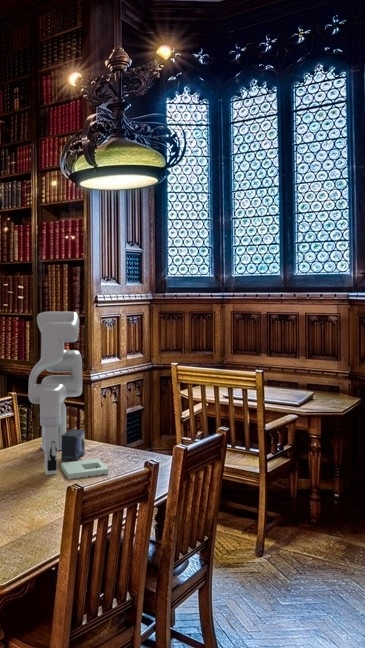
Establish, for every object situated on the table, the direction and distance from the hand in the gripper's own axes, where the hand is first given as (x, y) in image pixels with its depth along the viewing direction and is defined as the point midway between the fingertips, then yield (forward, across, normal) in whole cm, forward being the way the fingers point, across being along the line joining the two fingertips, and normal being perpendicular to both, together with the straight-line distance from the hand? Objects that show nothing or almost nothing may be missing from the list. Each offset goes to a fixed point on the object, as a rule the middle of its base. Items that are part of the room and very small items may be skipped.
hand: (51, 468), depth 209 cm
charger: (+2, 0, 0) cm, 2 cm away
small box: (+2, -16, +12) cm, 20 cm away
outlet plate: (+2, +3, +12) cm, 12 cm away
